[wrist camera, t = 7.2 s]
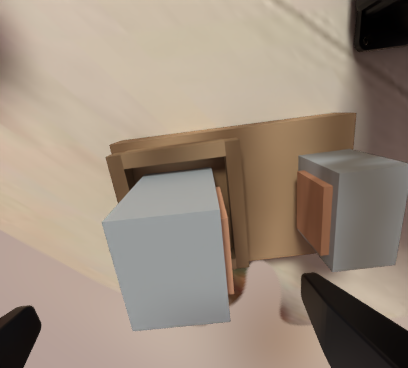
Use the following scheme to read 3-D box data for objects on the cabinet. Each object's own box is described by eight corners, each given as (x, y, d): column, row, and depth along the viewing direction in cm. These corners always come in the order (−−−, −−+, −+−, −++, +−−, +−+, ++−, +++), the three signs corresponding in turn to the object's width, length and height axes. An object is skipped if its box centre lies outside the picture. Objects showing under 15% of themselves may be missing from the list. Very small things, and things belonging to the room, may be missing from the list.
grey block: (216, 166, 13) (228, 208, 7) (223, 239, 15) (237, 321, 9) (144, 174, 13) (101, 222, 7) (159, 245, 15) (132, 331, 9)
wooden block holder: (335, 112, 14) (427, 112, 8) (328, 234, 17) (393, 296, 11) (121, 140, 14) (69, 159, 9) (149, 255, 17) (123, 326, 11)
